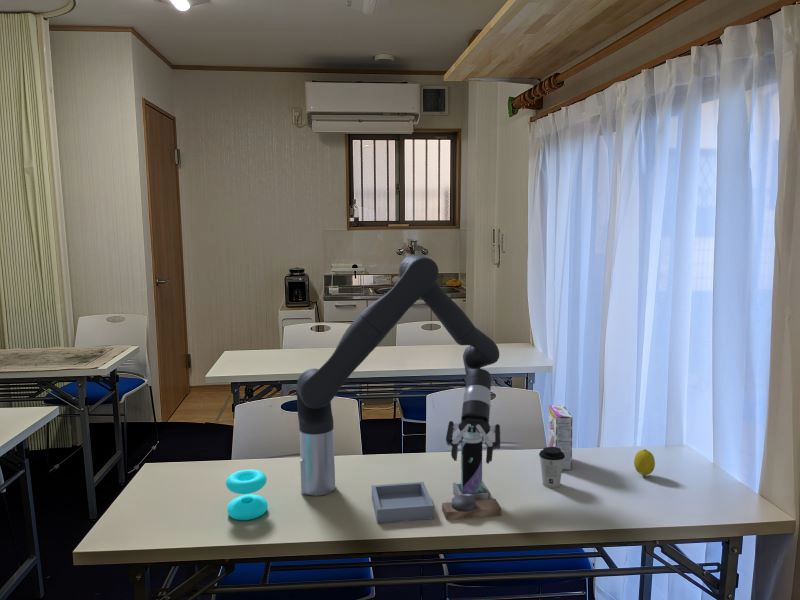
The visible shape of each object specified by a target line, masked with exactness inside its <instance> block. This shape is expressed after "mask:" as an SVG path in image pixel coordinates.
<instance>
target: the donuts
mask: <svg viewBox="0 0 800 600" xmlns="http://www.w3.org/2000/svg"><path fill="white" fill-rule="evenodd" d="M266 483H267V475H266V474H265V473H264V471H263V472H262V471H261V470H258V469H253V468H250V469H241V470H238V471H235V472H232V473H230V475H228V477H227V478H226V481H225V486H226V489H227V490H229V491H230V492H232V493H234V494H239V496H236V497H235V498H233V499H232V500H231V501H230V502H229V503H228V505H227V514H228V515H229V517H231V518H232V519H234V520H237V521H250V520H253V519H257V518H260V517H261V516H263V515H264V514H265V513H266V512H267V510H268V507H269V506H268V505H269V504H268V501H267V500H266V498H264V497H263V496H262V495H258V494H253V493H256V492H258V491H260V490H261V489H262V488H263V487H265V485H266Z"/></svg>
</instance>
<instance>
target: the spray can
mask: <svg viewBox="0 0 800 600" xmlns="http://www.w3.org/2000/svg"><path fill="white" fill-rule="evenodd" d="M460 446H461V447H460V449H461V452H460V455H461V456H460V458H461V459H460V460H461V461H460V467H461V468H460V470H461V471H460V476H461V478H460V479H461V480H460V482H461V493H462V495H464V494H477V493H482V481H483V441H482V435H481V434H480V433H478V432H477V430H476V429H475V426H469V429H468V430H467V431H466V432H465V433H463V434H462V437H461V444H460Z"/></svg>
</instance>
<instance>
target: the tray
mask: <svg viewBox="0 0 800 600" xmlns="http://www.w3.org/2000/svg"><path fill="white" fill-rule="evenodd" d="M371 501H372V505H373V509H374V514H375V519H376V523H377V524H386V523H397V522H398V523H400V522H409V521H410V522H412V521H424V520H434V519H435V517H434V507H435V506H434V503H433V500H432V498H431V496H430V494H429V492H428V489H427V487H426V484H425V482H424V481H415V482H403V483H402V482H401V483H390V484H389V483H388V484H387V483H386V484H378V485H377V484H375V485H374V484H373V485H371Z"/></svg>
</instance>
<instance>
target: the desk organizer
mask: <svg viewBox="0 0 800 600" xmlns="http://www.w3.org/2000/svg"><path fill="white" fill-rule="evenodd" d="M452 486H453V487H452V492H453V497H452V498H451V501H450V502H442V503H441V511H442V513H443V516H444V518H445V520H446V521H448V520H459V519H472V518H473V519H474V517H475V518H484V517H485V518H487V517H497V516H499V515H500V516H502V506H501V505H500V504H499V502H498V500H497V499H496V498H492V494H491V492H490V490H489V488H488V487H487V485H486V484H485V483H484V481H483V480H482V493H477V494H464V495H462V493H461V481H460V482H453V483H452ZM486 516H487V517H486Z"/></svg>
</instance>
